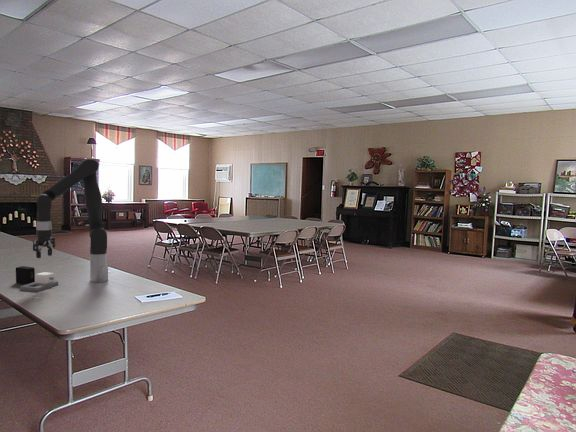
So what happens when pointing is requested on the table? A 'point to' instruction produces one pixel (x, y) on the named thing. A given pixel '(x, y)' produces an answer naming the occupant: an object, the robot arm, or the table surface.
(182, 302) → the table surface
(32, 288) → the socket plate
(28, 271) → the electronic device
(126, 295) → the table surface
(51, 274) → the plug
